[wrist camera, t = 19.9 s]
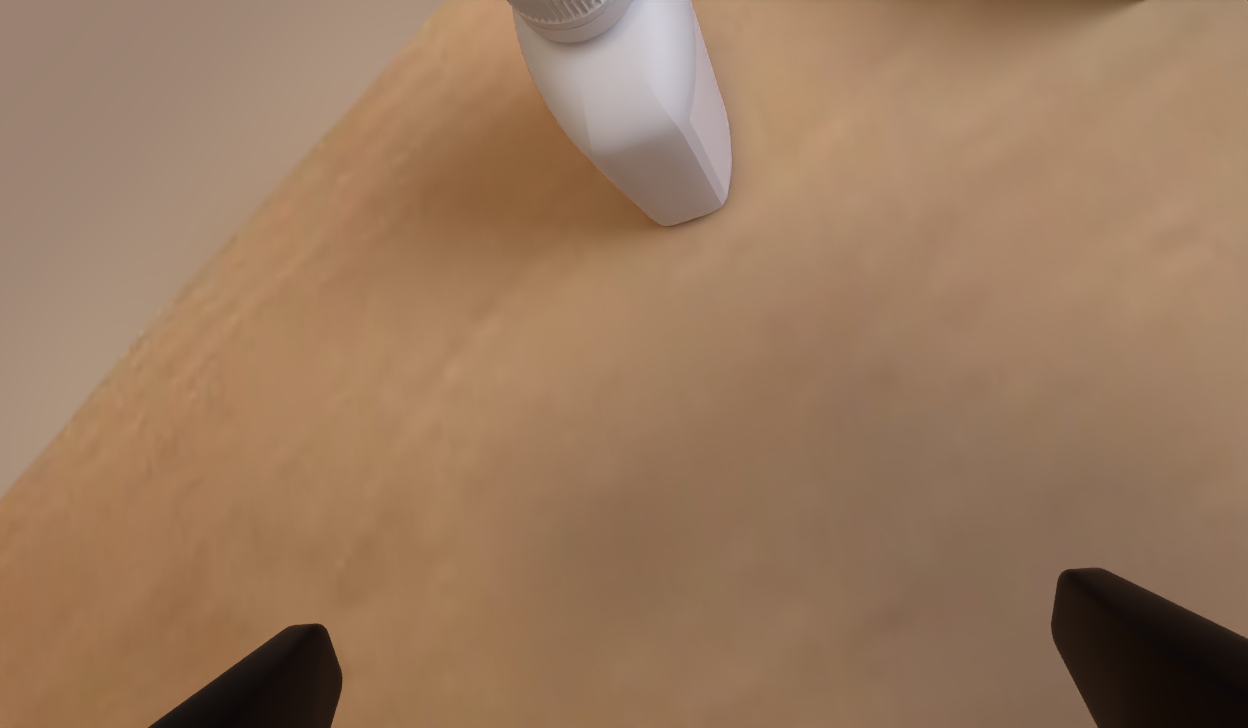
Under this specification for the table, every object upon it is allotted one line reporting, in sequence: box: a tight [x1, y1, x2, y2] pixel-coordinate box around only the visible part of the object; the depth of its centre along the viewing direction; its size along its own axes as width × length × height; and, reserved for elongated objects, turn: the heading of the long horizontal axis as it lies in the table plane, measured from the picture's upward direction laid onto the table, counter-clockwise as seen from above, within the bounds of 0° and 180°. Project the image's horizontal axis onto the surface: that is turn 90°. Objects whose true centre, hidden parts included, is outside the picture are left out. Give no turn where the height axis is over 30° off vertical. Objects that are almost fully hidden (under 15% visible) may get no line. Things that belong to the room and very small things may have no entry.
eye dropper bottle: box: [507, 0, 732, 226], centre depth 14 cm, size 4×6×12 cm
